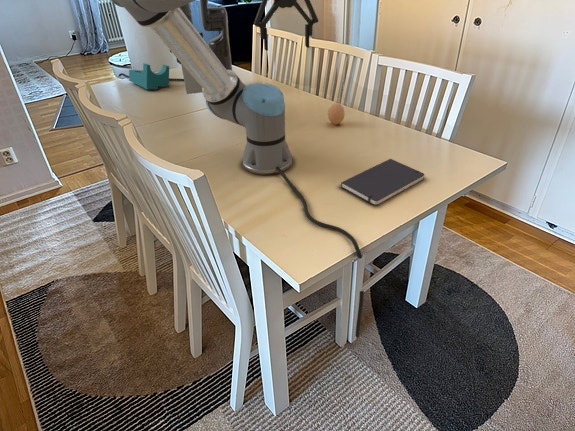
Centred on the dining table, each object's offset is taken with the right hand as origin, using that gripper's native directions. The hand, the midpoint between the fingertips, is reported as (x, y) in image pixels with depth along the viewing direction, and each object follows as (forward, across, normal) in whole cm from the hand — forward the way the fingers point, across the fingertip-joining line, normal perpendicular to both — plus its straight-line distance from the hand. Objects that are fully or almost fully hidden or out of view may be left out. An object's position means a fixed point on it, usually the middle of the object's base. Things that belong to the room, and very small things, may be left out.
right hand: (286, 48), depth 132 cm
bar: (+13, +33, -16) cm, 39 cm away
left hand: (+9, +33, -25) cm, 43 cm away
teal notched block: (+28, +54, -65) cm, 89 cm away
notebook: (+28, -19, +45) cm, 56 cm away
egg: (+28, -18, +1) cm, 33 cm away
